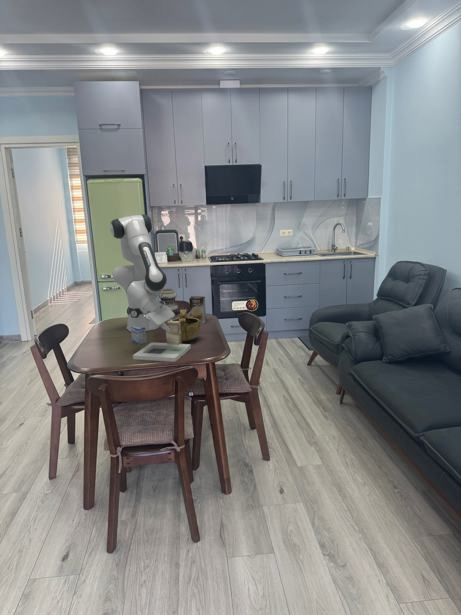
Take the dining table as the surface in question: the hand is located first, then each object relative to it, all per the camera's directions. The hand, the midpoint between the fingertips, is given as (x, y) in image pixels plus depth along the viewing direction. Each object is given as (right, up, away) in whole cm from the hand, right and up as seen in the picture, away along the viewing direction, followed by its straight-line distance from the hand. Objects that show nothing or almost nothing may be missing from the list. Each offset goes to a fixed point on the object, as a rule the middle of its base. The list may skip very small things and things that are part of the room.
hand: (172, 329), depth 202 cm
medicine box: (-21, -9, +25) cm, 34 cm away
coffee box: (+8, +1, +61) cm, 61 cm away
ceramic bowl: (+4, -7, +24) cm, 26 cm away
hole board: (-5, -12, +5) cm, 14 cm away
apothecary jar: (-13, +5, +81) cm, 82 cm away
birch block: (+1, -7, +2) cm, 7 cm away
